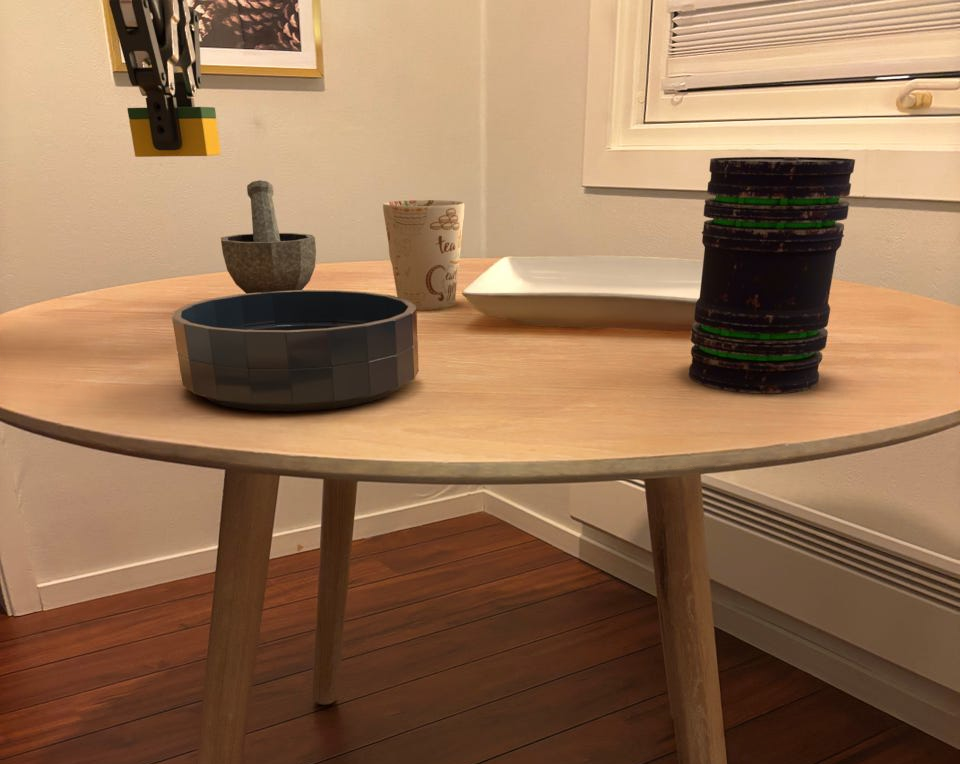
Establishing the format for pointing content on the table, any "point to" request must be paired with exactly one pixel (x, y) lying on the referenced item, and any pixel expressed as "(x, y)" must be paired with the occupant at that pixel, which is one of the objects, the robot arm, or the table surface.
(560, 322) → the square plate
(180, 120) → the sponge
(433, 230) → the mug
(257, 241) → the mortar and pestle
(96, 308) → the table surface
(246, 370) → the bowl
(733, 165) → the storage jar
